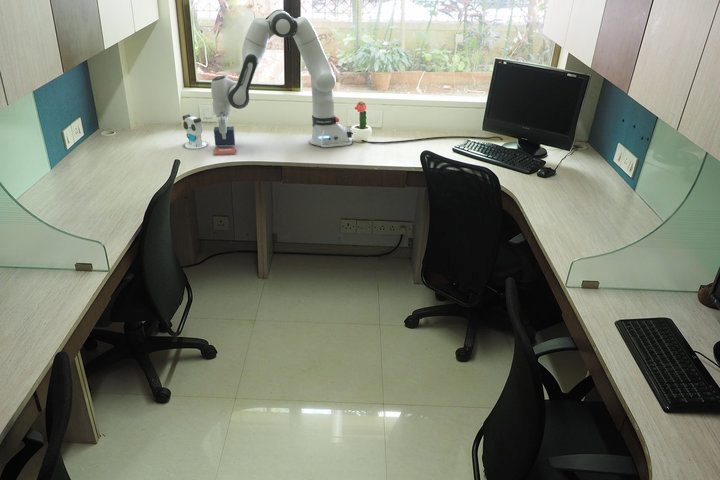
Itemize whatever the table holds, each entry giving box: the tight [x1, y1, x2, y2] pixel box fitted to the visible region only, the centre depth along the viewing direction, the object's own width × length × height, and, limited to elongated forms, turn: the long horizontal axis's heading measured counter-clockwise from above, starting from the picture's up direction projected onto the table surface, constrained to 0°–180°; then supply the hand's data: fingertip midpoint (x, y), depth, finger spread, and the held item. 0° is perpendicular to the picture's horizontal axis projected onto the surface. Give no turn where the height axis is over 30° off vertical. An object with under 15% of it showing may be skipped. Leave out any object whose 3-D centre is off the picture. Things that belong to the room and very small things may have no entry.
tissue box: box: [213, 125, 236, 147], centre depth 320 cm, size 10×6×9 cm, turn 97°
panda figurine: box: [182, 114, 208, 150], centre depth 322 cm, size 12×11×15 cm
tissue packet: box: [214, 147, 236, 156], centre depth 316 cm, size 10×7×1 cm
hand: (224, 136), depth 320 cm, fingers closed on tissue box, 6 cm apart
